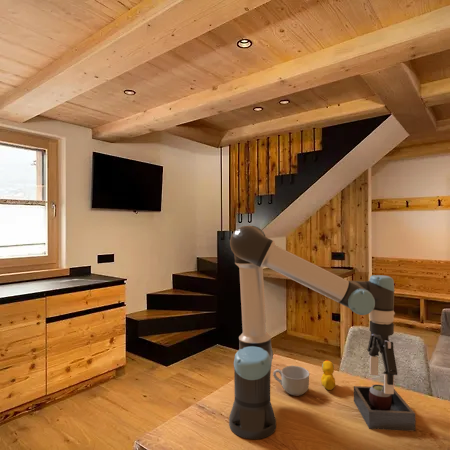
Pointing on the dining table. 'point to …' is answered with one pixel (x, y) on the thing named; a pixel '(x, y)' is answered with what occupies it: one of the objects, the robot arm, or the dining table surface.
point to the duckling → (328, 375)
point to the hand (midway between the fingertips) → (380, 383)
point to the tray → (385, 412)
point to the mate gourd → (379, 398)
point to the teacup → (293, 379)
